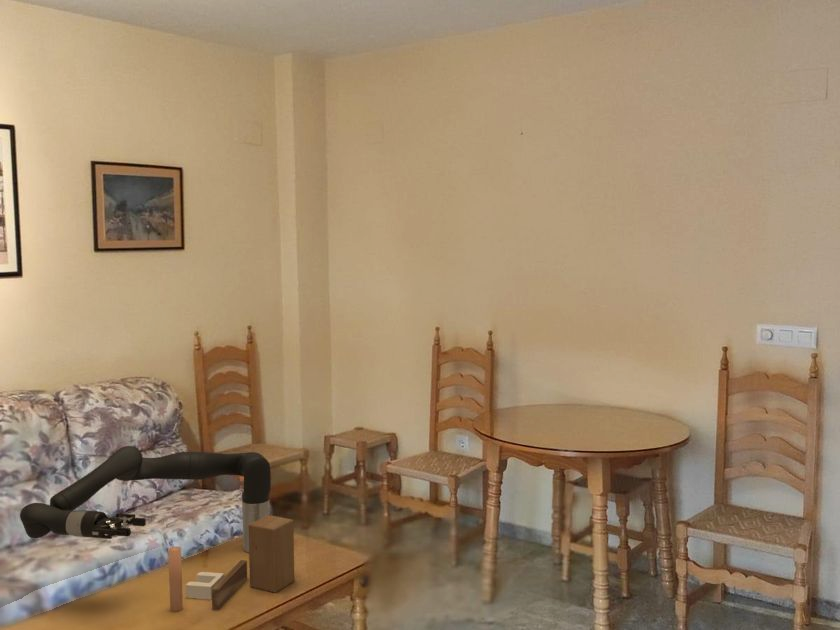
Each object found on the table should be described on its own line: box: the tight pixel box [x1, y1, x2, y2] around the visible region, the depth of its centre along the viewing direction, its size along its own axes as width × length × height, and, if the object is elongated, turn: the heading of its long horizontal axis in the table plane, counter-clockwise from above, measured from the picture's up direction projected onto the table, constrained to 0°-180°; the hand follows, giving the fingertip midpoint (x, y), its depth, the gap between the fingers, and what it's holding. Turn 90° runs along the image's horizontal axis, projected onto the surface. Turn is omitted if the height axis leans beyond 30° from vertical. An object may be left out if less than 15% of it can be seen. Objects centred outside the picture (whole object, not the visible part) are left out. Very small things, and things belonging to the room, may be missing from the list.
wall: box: [211, 559, 248, 611], centre depth 248 cm, size 2×22×6 cm, turn 170°
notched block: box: [185, 571, 225, 601], centre depth 250 cm, size 8×10×4 cm
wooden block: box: [248, 514, 295, 593], centre depth 254 cm, size 10×10×20 cm
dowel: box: [167, 546, 184, 613], centre depth 237 cm, size 4×4×18 cm
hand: (137, 527), depth 238 cm, fingers open, 8 cm apart
